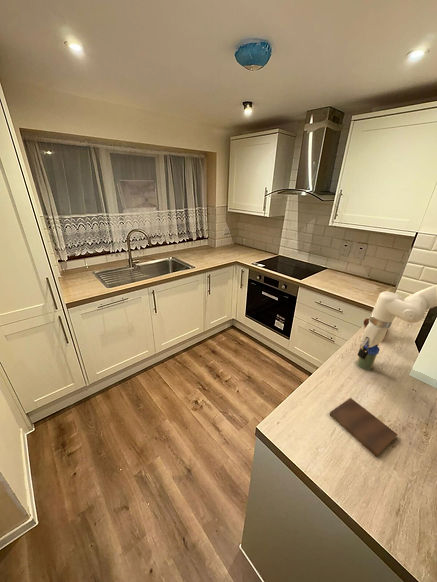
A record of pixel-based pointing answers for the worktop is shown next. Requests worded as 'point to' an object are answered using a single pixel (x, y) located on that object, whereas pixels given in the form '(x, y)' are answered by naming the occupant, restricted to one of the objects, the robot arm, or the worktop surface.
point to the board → (363, 426)
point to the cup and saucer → (367, 322)
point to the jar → (366, 362)
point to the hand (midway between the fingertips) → (366, 354)
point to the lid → (373, 350)
